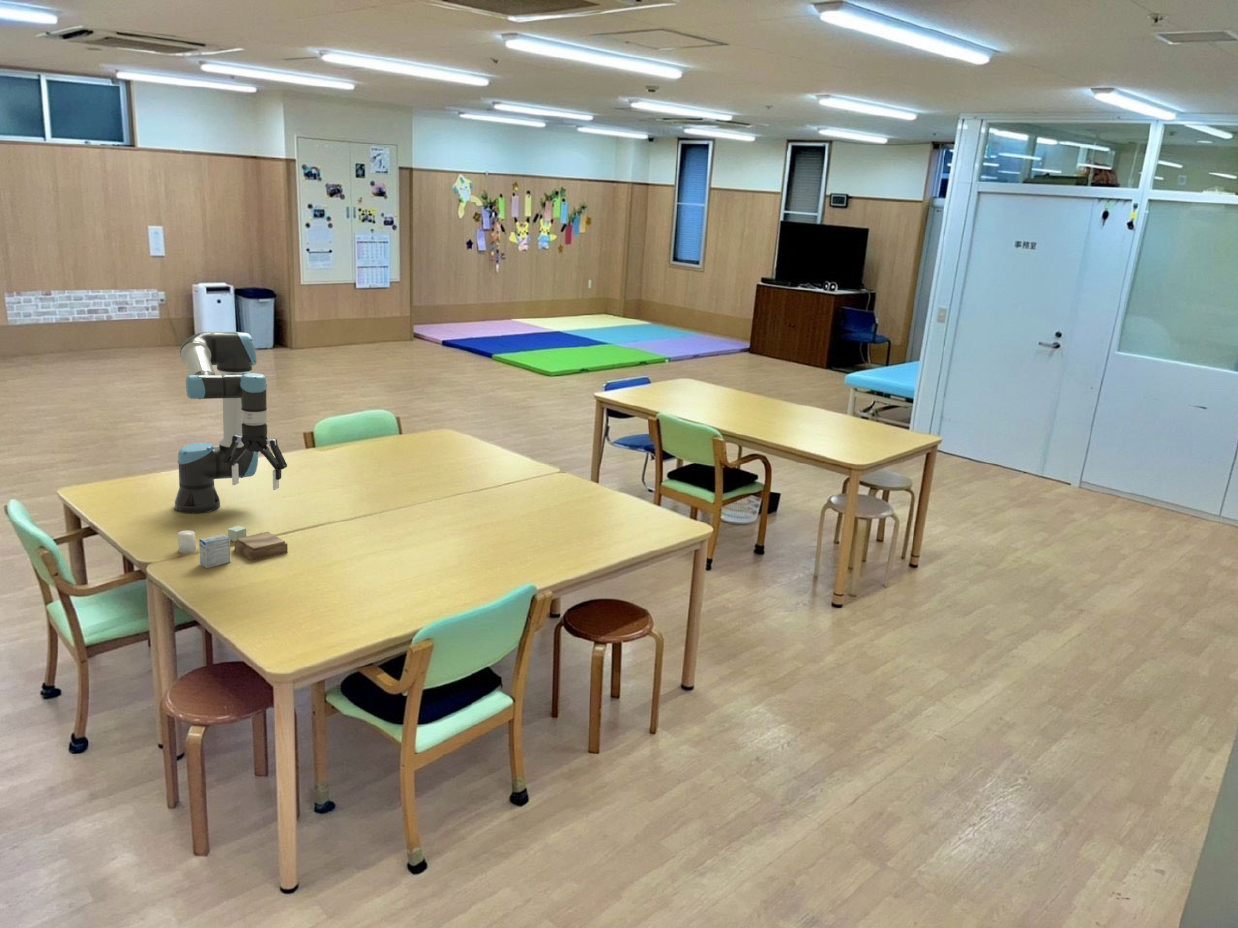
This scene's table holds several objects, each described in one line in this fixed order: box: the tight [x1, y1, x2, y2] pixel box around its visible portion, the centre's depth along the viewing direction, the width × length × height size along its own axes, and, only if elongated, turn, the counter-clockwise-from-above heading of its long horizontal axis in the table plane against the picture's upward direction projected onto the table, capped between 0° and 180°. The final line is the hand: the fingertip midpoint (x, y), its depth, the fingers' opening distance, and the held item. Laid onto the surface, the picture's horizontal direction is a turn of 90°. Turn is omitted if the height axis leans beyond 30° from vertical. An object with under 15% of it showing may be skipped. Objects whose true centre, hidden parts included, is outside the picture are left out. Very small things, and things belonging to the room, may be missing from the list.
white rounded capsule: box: [177, 530, 196, 554], centre depth 294 cm, size 5×5×6 cm
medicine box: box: [198, 533, 231, 569], centre depth 286 cm, size 8×4×9 cm, turn 141°
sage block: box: [227, 525, 247, 543], centre depth 307 cm, size 4×4×4 cm
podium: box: [234, 531, 289, 562], centre depth 299 cm, size 12×12×4 cm
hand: (255, 486), depth 292 cm, fingers open, 13 cm apart
